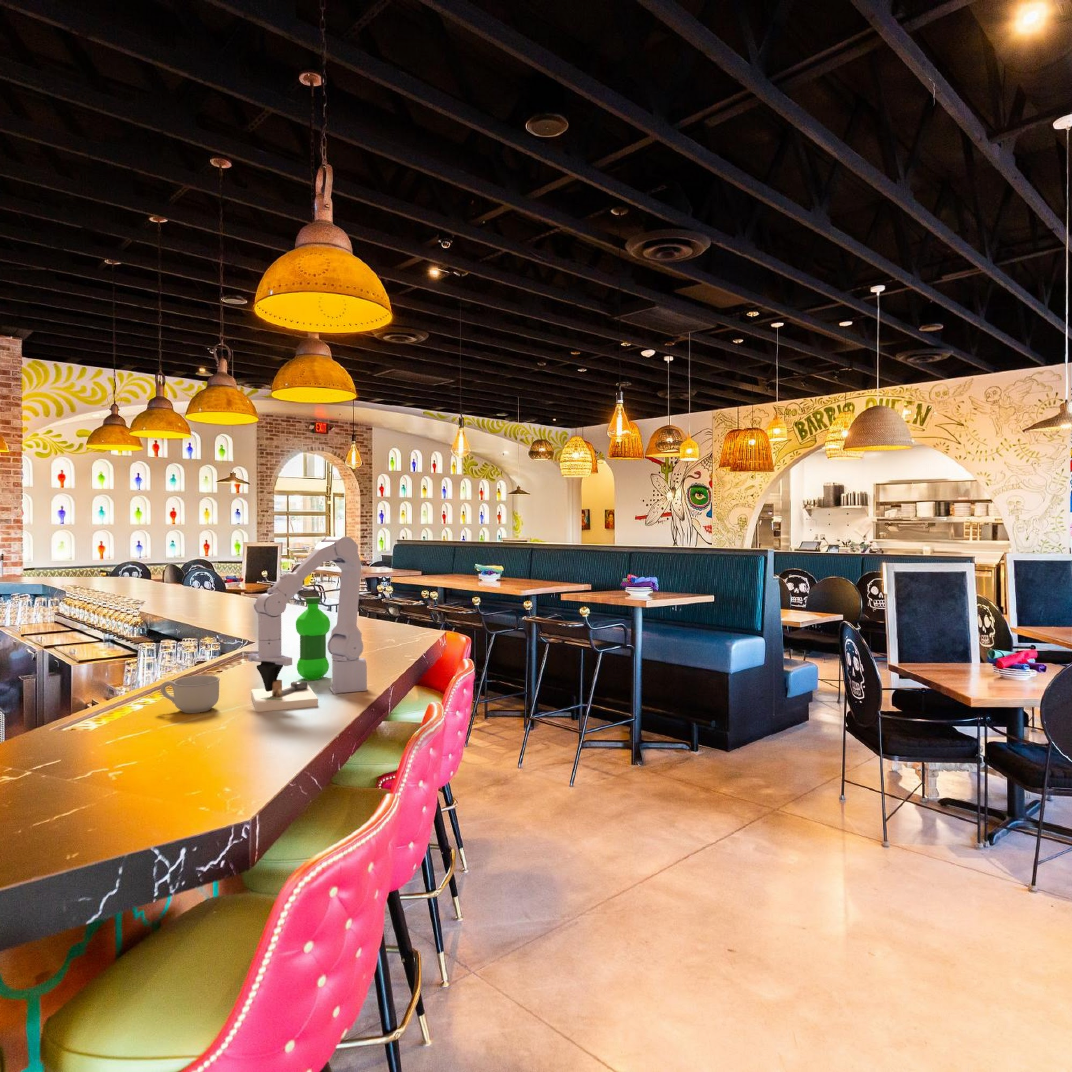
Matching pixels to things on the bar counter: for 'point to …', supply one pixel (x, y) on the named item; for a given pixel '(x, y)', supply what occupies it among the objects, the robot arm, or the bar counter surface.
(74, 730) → the bar counter surface
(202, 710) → the teacup
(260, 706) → the board
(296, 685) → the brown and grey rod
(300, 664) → the plastic bottle
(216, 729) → the bar counter surface
